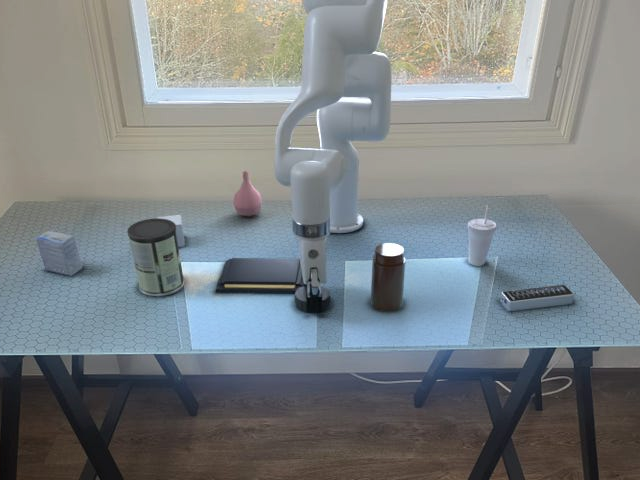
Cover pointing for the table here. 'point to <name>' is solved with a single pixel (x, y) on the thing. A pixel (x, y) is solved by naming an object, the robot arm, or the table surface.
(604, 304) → the table surface
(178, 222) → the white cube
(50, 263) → the medicine box
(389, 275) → the jar
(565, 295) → the multiport hub
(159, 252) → the coffee can
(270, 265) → the wallet
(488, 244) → the smoothie
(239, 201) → the pink teardrop shaped piece
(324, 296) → the lid
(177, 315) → the table surface
